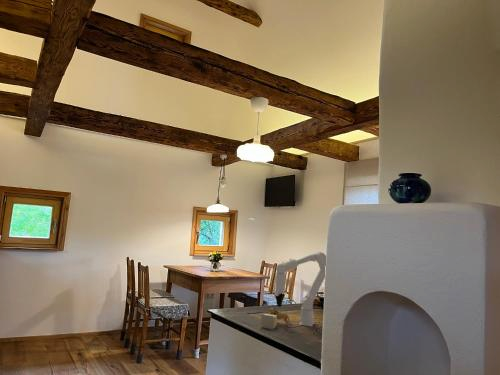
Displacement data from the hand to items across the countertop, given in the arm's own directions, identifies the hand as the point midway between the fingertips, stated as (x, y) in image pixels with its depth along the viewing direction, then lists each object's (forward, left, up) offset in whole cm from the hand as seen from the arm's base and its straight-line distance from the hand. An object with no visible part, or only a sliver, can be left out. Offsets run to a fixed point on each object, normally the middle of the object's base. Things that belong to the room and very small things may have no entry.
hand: (279, 306), depth 228 cm
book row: (+13, -2, -9) cm, 16 cm away
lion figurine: (+5, +2, -10) cm, 11 cm away
